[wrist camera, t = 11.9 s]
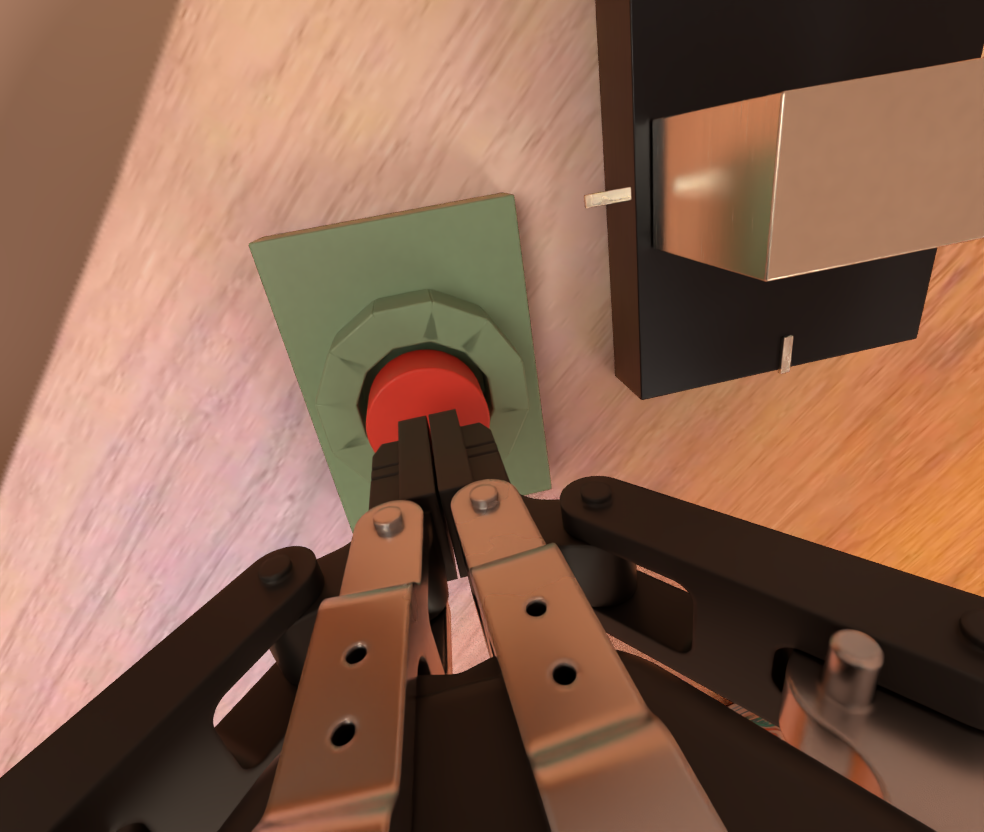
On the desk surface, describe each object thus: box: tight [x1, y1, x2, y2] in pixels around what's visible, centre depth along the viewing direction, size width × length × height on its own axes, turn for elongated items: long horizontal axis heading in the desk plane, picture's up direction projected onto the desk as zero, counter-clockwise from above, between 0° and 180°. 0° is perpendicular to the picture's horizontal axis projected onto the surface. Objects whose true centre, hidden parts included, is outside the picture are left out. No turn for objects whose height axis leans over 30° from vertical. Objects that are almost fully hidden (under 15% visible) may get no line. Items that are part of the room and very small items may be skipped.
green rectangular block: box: [249, 193, 552, 533], centre depth 18 cm, size 11×8×4 cm
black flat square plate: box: [584, 0, 984, 400], centre depth 17 cm, size 14×14×3 cm
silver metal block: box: [653, 57, 984, 282], centre depth 13 cm, size 10×4×6 cm, turn 99°
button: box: [366, 349, 490, 453], centre depth 16 cm, size 4×4×2 cm
